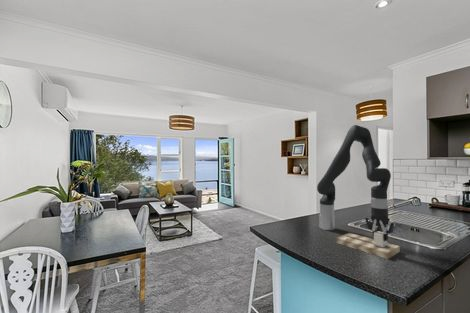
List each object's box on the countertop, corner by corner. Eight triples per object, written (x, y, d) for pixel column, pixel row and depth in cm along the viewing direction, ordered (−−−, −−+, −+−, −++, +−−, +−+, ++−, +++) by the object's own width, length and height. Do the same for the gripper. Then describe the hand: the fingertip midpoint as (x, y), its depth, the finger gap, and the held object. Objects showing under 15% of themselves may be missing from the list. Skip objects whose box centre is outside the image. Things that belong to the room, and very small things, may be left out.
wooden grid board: (336, 242, 128) (336, 237, 128) (349, 237, 136) (349, 232, 136) (387, 259, 106) (387, 252, 106) (399, 251, 114) (399, 245, 114)
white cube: (372, 244, 116) (372, 233, 116) (377, 241, 119) (377, 230, 119) (383, 247, 111) (382, 235, 111) (388, 244, 115) (388, 233, 115)
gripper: (361, 205, 119) (362, 237, 119) (391, 210, 107) (392, 245, 107) (368, 203, 123) (369, 234, 123) (398, 207, 112) (399, 241, 111)
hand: (380, 239), depth 115 cm, fingers closed on white cube, 4 cm apart
